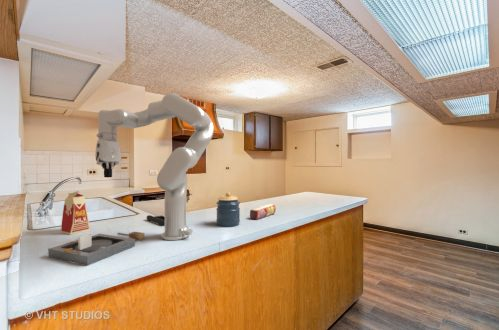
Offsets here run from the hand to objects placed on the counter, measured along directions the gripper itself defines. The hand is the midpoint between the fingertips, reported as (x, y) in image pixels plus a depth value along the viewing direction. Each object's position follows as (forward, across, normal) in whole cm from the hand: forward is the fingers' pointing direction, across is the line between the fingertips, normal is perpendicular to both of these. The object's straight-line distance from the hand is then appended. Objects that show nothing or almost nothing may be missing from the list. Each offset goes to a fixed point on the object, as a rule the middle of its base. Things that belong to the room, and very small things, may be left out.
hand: (108, 177), depth 115 cm
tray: (+27, -17, -13) cm, 35 cm away
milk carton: (+27, -1, +21) cm, 34 cm away
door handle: (+28, +32, -6) cm, 43 cm away
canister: (+27, +39, -43) cm, 64 cm away
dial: (+26, -17, -13) cm, 34 cm away
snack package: (+28, +64, -56) cm, 89 cm away
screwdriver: (+27, 0, -14) cm, 30 cm away
